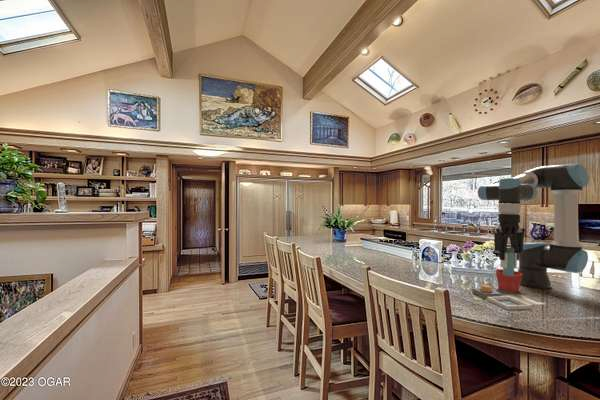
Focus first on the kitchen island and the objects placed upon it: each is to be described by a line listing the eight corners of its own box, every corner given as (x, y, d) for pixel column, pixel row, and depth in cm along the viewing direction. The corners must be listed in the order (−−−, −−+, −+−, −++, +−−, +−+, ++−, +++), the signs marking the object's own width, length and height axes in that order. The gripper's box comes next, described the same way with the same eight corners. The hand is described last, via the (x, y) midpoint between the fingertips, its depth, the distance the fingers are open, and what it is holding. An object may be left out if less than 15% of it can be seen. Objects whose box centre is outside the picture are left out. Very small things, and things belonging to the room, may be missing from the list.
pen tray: (509, 301, 123) (509, 296, 123) (531, 310, 113) (531, 305, 113) (487, 301, 122) (487, 296, 122) (507, 311, 111) (507, 306, 111)
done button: (486, 292, 131) (487, 285, 131) (494, 295, 126) (494, 287, 126) (478, 292, 130) (478, 285, 130) (485, 295, 126) (485, 288, 126)
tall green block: (508, 273, 119) (508, 246, 120) (516, 276, 116) (516, 248, 116) (500, 273, 119) (501, 246, 119) (508, 276, 115) (508, 248, 115)
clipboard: (521, 295, 131) (521, 293, 131) (550, 306, 117) (550, 304, 117) (498, 296, 130) (498, 293, 130) (525, 307, 116) (525, 304, 116)
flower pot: (512, 287, 143) (512, 269, 143) (527, 294, 132) (527, 275, 132) (490, 286, 144) (491, 268, 144) (504, 293, 133) (504, 274, 133)
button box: (487, 294, 133) (487, 287, 133) (501, 299, 125) (501, 293, 125) (472, 294, 132) (472, 288, 132) (485, 300, 124) (485, 293, 124)
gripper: (518, 213, 122) (518, 265, 122) (484, 213, 120) (483, 265, 120) (534, 214, 115) (534, 269, 114) (498, 213, 113) (497, 269, 113)
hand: (508, 267), depth 117 cm, fingers closed on tall green block, 4 cm apart
